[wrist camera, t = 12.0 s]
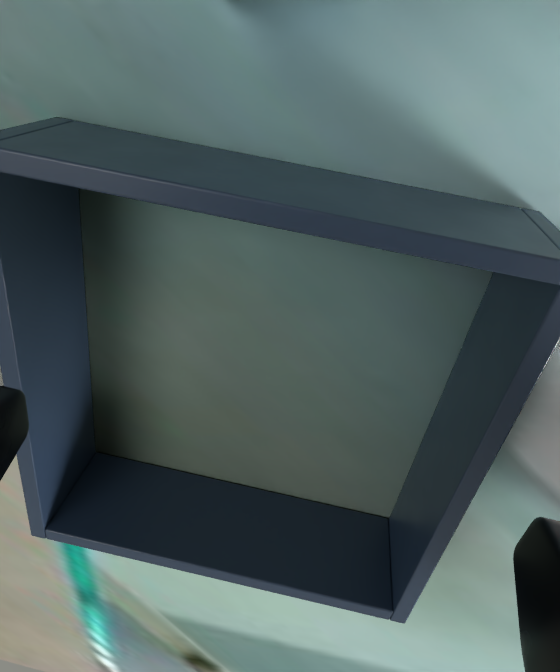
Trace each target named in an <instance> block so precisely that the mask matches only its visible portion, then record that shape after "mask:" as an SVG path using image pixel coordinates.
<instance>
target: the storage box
mask: <svg viewBox="0 0 560 672" xmlns="http://www.w3.org/2000/svg"><path fill="white" fill-rule="evenodd" d="M78 188H81V189H85V190H90V191H95V192H100V193H105V194H110V195H115V196H120V197H125V198H130V199H135V200H140V201H145V202H150V203H155V204H160V205H165V206H170V207H175V208H180V209H184V210H189V211H194V212H199V213H204V214H209V215H214V216H219V217H224V218H229V219H234V220H239V221H244V222H249V223H254V224H259V225H264V226H269V227H274V228H279V229H283V230H288V231H293V232H298V233H303V234H308V235H313V236H318V237H323V238H328V239H333V240H338V241H343V242H348V243H353V244H358V245H363V246H368V247H373V248H378V249H382V250H387V251H392V252H397V253H402V254H407V255H412V256H417V257H422V258H427V259H432V260H437V261H442V262H447V263H452V264H457V265H462V266H467V267H472V268H477V269H481V270H486V271H491V272H493V275H492V277H491V280H490V282H489V284H488V287H487V289H486V291H485V294H484V296H483V298H482V301H481V303H480V306H479V308H478V310H477V313H476V315H475V317H474V320H473V322H472V324H471V327H470V329H469V331H468V334H467V336H466V339H465V341H464V343H463V346H462V348H461V350H460V353H459V355H458V357H457V360H456V362H455V365H454V367H453V369H452V372H451V374H450V376H449V379H448V381H447V383H446V386H445V388H444V391H443V393H442V395H441V398H440V400H439V402H438V405H437V407H436V409H435V412H434V414H433V416H432V419H431V421H430V424H429V426H428V428H427V431H426V433H425V435H424V438H423V440H422V442H421V445H420V447H419V450H418V452H417V454H416V457H415V459H414V461H413V464H412V466H411V468H410V471H409V473H408V476H407V478H406V480H405V483H404V485H403V487H402V490H401V492H400V494H399V497H398V499H397V502H396V504H395V506H394V509H393V511H392V513H391V516H390V518H389V520H388V519H387V518H383V517H379V516H374V515H370V514H366V513H361V512H357V511H352V510H348V509H344V508H339V507H335V506H331V505H326V504H322V503H317V502H313V501H309V500H304V499H300V498H295V497H291V496H287V495H282V494H278V493H273V492H269V491H265V490H260V489H256V488H251V487H247V486H243V485H238V484H234V483H229V482H225V481H221V480H216V479H212V478H207V477H203V476H199V475H194V474H190V473H185V472H181V471H177V470H172V469H168V468H163V467H159V466H155V465H150V464H146V463H141V462H137V461H133V460H128V459H124V458H119V457H115V456H111V455H106V454H102V453H95V437H94V422H93V406H92V391H91V375H90V360H89V345H88V329H87V314H86V298H85V283H84V267H83V252H82V237H81V221H80V206H79V190H78ZM559 340H560V231H559V230H558V229H557V228H556V227H555V226H554V225H553V224H552V223H551V222H550V221H549V220H548V219H547V218H546V217H545V216H544V215H543V214H542V213H541V212H539V211H535V210H529V209H524V208H521V209H520V208H519V207H514V206H509V205H504V204H499V203H493V202H488V201H483V200H478V199H473V198H468V197H463V196H458V195H453V194H447V193H442V192H437V191H432V190H427V189H422V188H417V187H412V186H406V185H401V184H396V183H391V182H386V181H381V180H376V179H371V178H366V177H360V176H355V175H350V174H345V173H340V172H335V171H330V170H325V169H320V168H314V167H309V166H304V165H299V164H294V163H289V162H284V161H279V160H274V159H268V158H263V157H258V156H253V155H248V154H243V153H238V152H233V151H227V150H222V149H217V148H212V147H207V146H202V145H197V144H192V143H187V142H181V141H176V140H171V139H166V138H161V137H156V136H151V135H146V134H141V133H135V132H130V131H125V130H120V129H115V128H110V127H105V126H100V125H94V124H89V123H84V122H79V121H73V120H70V119H65V118H60V117H54V118H50V119H46V120H41V121H37V122H33V123H29V124H24V125H20V126H16V127H12V128H7V129H3V130H0V367H1V373H2V378H3V383H4V386H6V387H10V388H14V389H18V390H21V391H22V392H23V393H24V394H25V398H26V405H27V412H28V419H29V430H28V434H27V436H26V438H25V440H24V442H23V444H22V445H21V447H20V449H19V450H18V452H17V459H18V465H19V470H20V475H21V481H22V486H23V492H24V497H25V502H26V508H27V513H28V519H29V524H30V529H31V535H32V536H36V537H40V538H47V539H50V540H54V541H59V542H63V543H67V544H71V545H76V546H80V547H84V548H88V549H92V550H97V551H101V552H105V553H109V554H114V555H118V556H122V557H126V558H130V559H135V560H139V561H143V562H147V563H151V564H156V565H160V566H164V567H168V568H173V569H177V570H181V571H185V572H189V573H194V574H198V575H202V576H206V577H211V578H215V579H219V580H223V581H227V582H232V583H236V584H240V585H244V586H249V587H253V588H257V589H261V590H265V591H270V592H274V593H278V594H282V595H287V596H291V597H295V598H299V599H303V600H308V601H312V602H316V603H320V604H324V605H329V606H333V607H337V608H341V609H346V610H350V611H354V612H358V613H362V614H367V615H371V616H375V617H379V618H384V619H390V620H391V621H396V622H400V623H405V622H406V620H407V618H408V617H409V615H410V613H411V611H412V609H413V607H414V606H415V604H416V602H417V600H418V598H419V596H420V595H421V593H422V591H423V589H424V587H425V585H426V584H427V582H428V580H429V578H430V576H431V574H432V573H433V571H434V569H435V567H436V565H437V563H438V562H439V560H440V558H441V556H442V554H443V552H444V551H445V549H446V547H447V545H448V543H449V541H450V540H451V538H452V536H453V534H454V532H455V530H456V529H457V527H458V525H459V523H460V521H461V519H462V518H463V516H464V514H465V512H466V510H467V508H468V507H469V505H470V503H471V501H472V499H473V498H474V496H475V494H476V492H477V490H478V488H479V487H480V485H481V483H482V481H483V479H484V477H485V476H486V474H487V472H488V470H489V468H490V466H491V465H492V463H493V461H494V459H495V457H496V455H497V454H498V452H499V450H500V448H501V446H502V444H503V443H504V441H505V439H506V437H507V435H508V433H509V432H510V430H511V428H512V426H513V424H514V422H515V421H516V419H517V417H518V415H519V413H520V411H521V410H522V408H523V406H524V404H525V402H526V400H527V399H528V397H529V395H530V393H531V391H532V389H533V388H534V386H535V384H536V382H537V380H538V379H539V377H540V375H541V373H542V371H543V369H544V368H545V366H546V364H547V362H548V360H549V358H550V357H551V355H552V353H553V351H554V349H555V347H556V346H557V344H558V342H559Z"/></svg>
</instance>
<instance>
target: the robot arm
mask: <svg viewBox="0 0 560 672" xmlns="http://www.w3.org/2000/svg"><path fill="white" fill-rule="evenodd" d="M28 430H29V419H28V412H27V405H26V398H25V394H24V393H23V392H22V391H21V390H18V389H14V388H10V387H6V386H0V480H1V479H2V477H3V475H4V474H5V472H6V470H7V469H8V467H9V465H10V464H11V462H12V460H13V459H14V457H15V455H16V454H17V452H18V450H19V449H20V447H21V445H22V444H23V442H24V440H25V438H26V436H27V434H28ZM513 560H514V572H515V583H516V595H517V606H518V617H519V628H520V639H521V648H522V655H523V661H524V667H525V672H560V521H556V520H551V519H547V518H543V517H538V518H536V519H534V521H533V522H532V523H531V525H530V526H529V527H528V529H527V530H526V532H525V533H524V535H523V536H522V538H521V539H520V540H519V542H518V543H517V545H516V547H515V550H514V557H513Z"/></svg>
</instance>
